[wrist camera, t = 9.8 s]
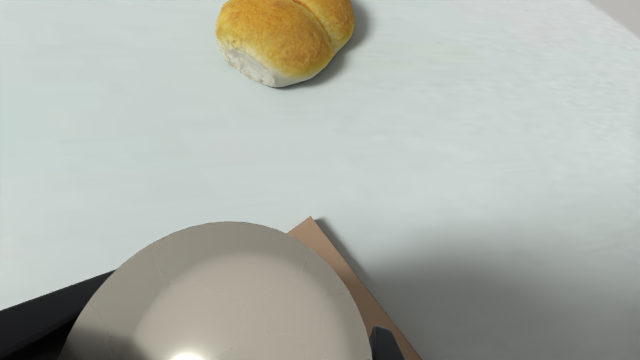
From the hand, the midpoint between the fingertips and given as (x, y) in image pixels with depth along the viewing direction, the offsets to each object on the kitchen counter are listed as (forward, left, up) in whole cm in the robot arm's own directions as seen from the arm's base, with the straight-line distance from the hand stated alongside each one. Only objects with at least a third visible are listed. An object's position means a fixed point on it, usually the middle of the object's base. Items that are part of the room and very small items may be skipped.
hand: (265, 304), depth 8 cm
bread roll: (+10, +15, -9) cm, 20 cm away
